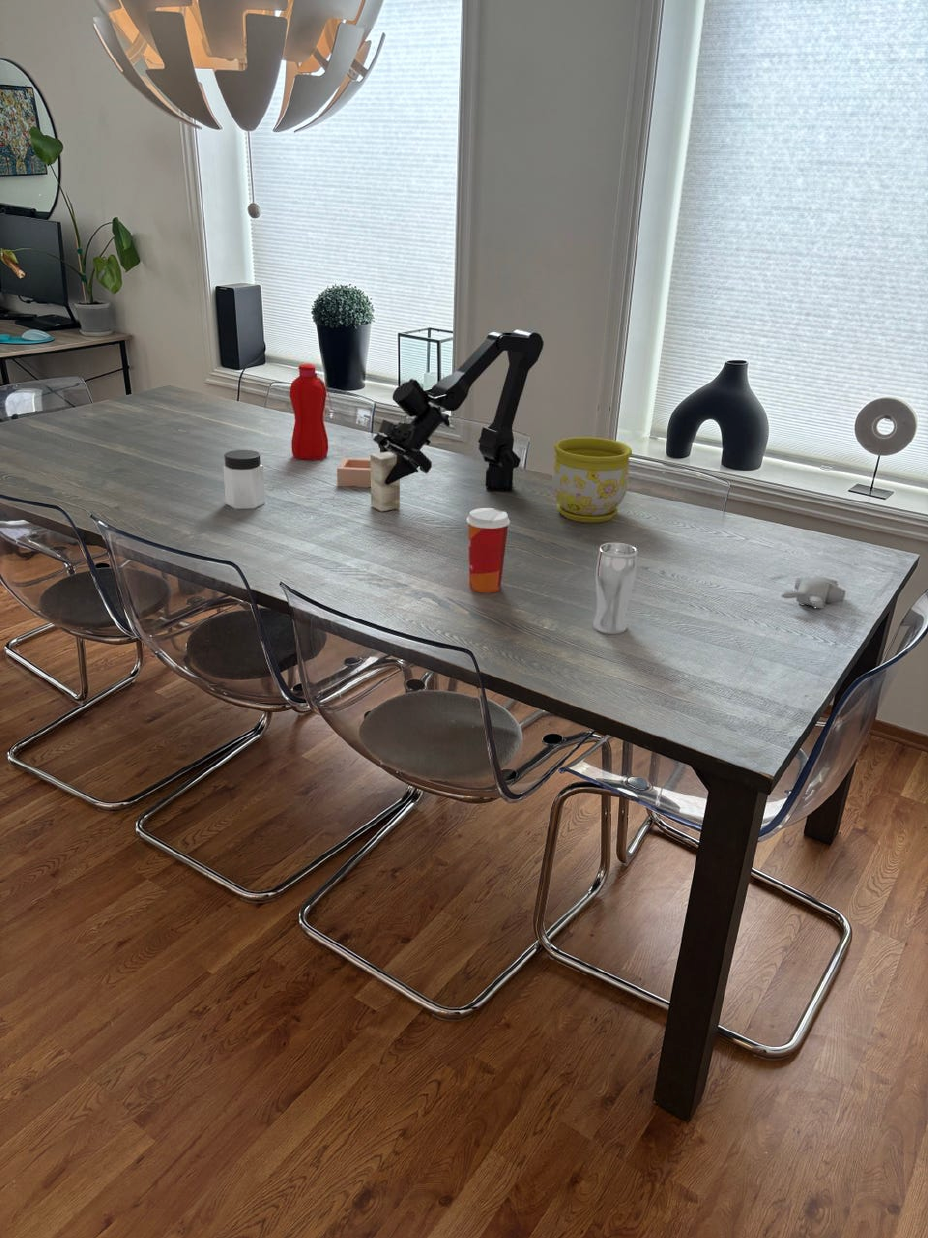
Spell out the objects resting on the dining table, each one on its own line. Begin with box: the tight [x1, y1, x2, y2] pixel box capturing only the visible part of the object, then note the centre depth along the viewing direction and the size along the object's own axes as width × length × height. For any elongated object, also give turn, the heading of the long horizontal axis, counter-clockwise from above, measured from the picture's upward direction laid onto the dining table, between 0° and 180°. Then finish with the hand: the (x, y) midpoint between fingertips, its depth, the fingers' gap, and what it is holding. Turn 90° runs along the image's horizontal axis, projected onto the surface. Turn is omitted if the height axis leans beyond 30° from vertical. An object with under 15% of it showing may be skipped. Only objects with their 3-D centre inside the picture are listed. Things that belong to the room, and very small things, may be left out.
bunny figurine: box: [781, 575, 846, 609], centre depth 183 cm, size 10×5×15 cm
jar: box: [222, 449, 266, 510], centre depth 222 cm, size 9×8×12 cm
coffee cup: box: [466, 507, 511, 594], centre depth 182 cm, size 8×8×15 cm
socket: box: [336, 457, 371, 488], centre depth 243 cm, size 10×10×4 cm
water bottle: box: [288, 363, 332, 461], centre depth 257 cm, size 9×11×25 cm
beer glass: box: [592, 542, 638, 635], centre depth 168 cm, size 7×7×15 cm
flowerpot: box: [551, 436, 633, 524], centre depth 223 cm, size 18×18×16 cm
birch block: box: [370, 451, 401, 512], centre depth 223 cm, size 5×5×12 cm
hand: (380, 480), depth 222 cm, fingers closed on birch block, 5 cm apart
